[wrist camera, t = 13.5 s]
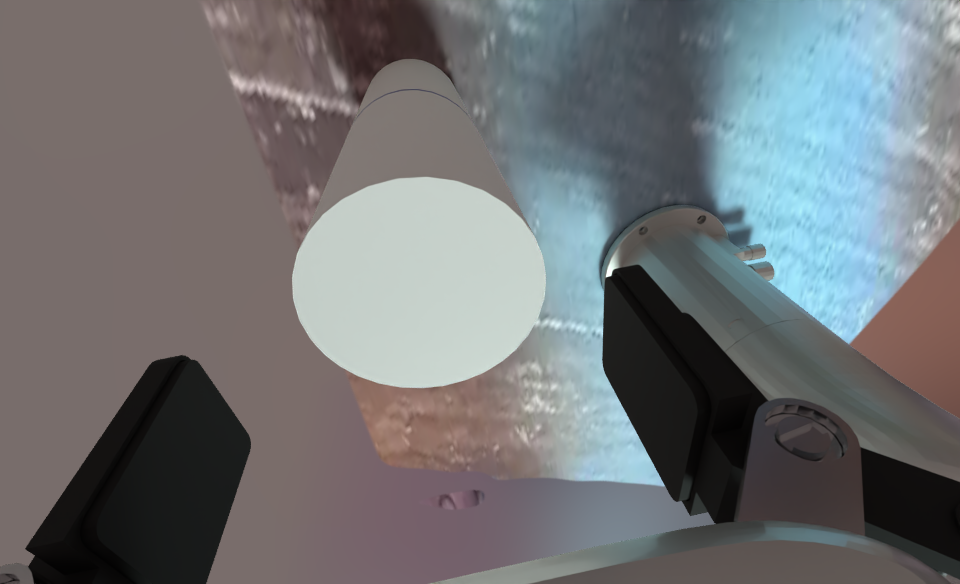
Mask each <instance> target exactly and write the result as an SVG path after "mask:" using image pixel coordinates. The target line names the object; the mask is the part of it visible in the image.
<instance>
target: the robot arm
mask: <svg viewBox="0 0 960 584" xmlns="http://www.w3.org/2000/svg"><path fill="white" fill-rule="evenodd" d="M765 255H766V249H765V247H764V246H763V244H755V245H750V246H746V247H743V248H739V247H737V246H735V245H734V244H733V243H731V242H730V241H729V236H728V233H727V231H726V229H725V227H724V225H723V224H722V223H721V221H720V220H719V219H718V218H717V217H715V216H714V215H712V214H711V213H710V212H708V211H706V210H704V209H702V208H700V207H696V206H691V205H673V206H668V207H663V208H660V209H658V210H655V211H652V212H650V213H648V214H646V215H644V216H642V217H641V218H639V219H637V220H636V221H635V222H633V223H632V224H631V225H630V226H628V227H627V228H626V229H625V230H624V231H623V232H622V233H621V234H620V235H619V236H618V237H617V239H616V240H615V242H614V243H613V244H612V246H611V247H610V249H609V251H608V253H607V255H606V257H605V260H604V264H603V267H602V276H601V281H602V287H603V290H604V322H603V358H602V361H603V368H604V371H605V374H606V376H607V378H608V380H609V382H610V384H611V386H612V387H613V389H614V391H615V393H616V395H617V397H618V399H619V401H620V402H621V404H622V406H623V408H624V410H625V412H626V414H627V416H628V417H629V419H630V421H631V423H632V425H633V427H634V429H635V430H636V432H637V434H638V436H639V438H640V440H641V442H642V444H643V445H644V447H645V449H646V451H647V453H648V455H649V457H650V459H651V460H652V462H653V464H654V466H655V468H656V470H657V472H658V473H659V475H660V477H661V479H662V481H663V483H664V485H665V487H666V488H667V490H668V492H669V494H670V495H671V497H672V498H673V500H675V501H676V502H678V501H682V502H683V504H684V506H685V507H686V509H687V511H688V513H689V515H690V516H692V515H697V514H701V513H706V512H708V513H709V514H710V516H711V518H712V520H713V521H714V523H716V524H714V525H707V526H700V527H694V528H687V529H681V530H676V531H671V532H666V533H661V534H656V535H651V536H646V537H642V538H636V539H631V540H626V541H621V542H617V543H611V544H607V545H602V546H597V547H592V548H588V549H583V550H579V551H574V552H569V553H565V554H560V555H556V556H552V557H547V558H542V559H538V560H533V561H529V562H524V563H520V564H515V565H511V566H507V567H502V568H497V569H493V570H488V571H483V572H479V573H474V574H471V575H465V576H461V577H456V578H452V579H448V580H443V581H439V582H434V583H430V584H960V419H959V418H957V417H956V416H954V415H952V414H950V413H949V412H947V411H945V410H944V409H942V408H940V407H939V406H937V405H936V404H934V403H932V402H931V401H929V400H928V399H926V398H925V397H923V396H922V395H920V394H918V393H917V392H915V391H914V390H912V389H911V388H909V387H908V386H906V385H905V384H903V383H901V382H900V381H898V380H897V379H895V378H894V377H893V376H891V375H890V374H888V373H887V372H885V371H884V370H883V369H881V368H880V367H879V366H877V365H876V364H874V363H873V362H872V361H871V360H869V359H868V358H866V357H865V356H864V355H862V354H861V353H860V352H858V351H857V350H855V349H854V348H852V347H851V346H850V345H849V344H848V343H846V342H845V341H844V340H842V339H841V338H840V337H839V336H837V335H836V334H835V333H833V332H832V331H831V330H830V329H828V328H827V327H826V326H824V325H823V324H822V323H820V322H819V321H818V320H817V319H815V318H814V317H813V316H811V315H810V314H809V313H808V312H806V311H805V310H804V309H803V308H801V307H800V306H799V305H797V304H796V303H795V302H794V301H792V300H791V299H790V298H789V297H787V296H786V295H785V294H783V293H782V292H781V291H780V290H778V289H777V288H776V287H775V286H773V285H772V284H771V283H770V282H768V281H770V280H772V279H773V277H774V269H773V266H772V265H771V264H770V263H769V262H767V261H765V262H760V263H755V264H749V265H747V264H745V263H744V262H743V261H746V260H749V261H750V260H755V259H760V258H763V257H765ZM250 449H251V441H250V437H249V435H248V433H247V432H246V430H245V429H244V427H243V426H242V424H241V423H240V421H239V420H238V419H237V417H236V416H235V414H234V413H233V412H232V410H231V408H230V407H229V406H228V404H227V403H226V401H225V400H224V398H223V397H222V396H221V394H220V393H219V391H218V390H217V388H216V387H215V385H214V384H213V382H212V381H211V380H210V378H209V377H208V375H207V374H206V373H205V371H204V369H203V368H202V367H201V365H200V364H199V363H198V362H197V361H195V360H191V359H190V358H189V357H186V356H183V355H180V356H175V357H170V358H166V359H160V360H156V361H154V362H152V363H151V364H150V365H149V367H148V368H147V370H146V371H145V373H144V374H143V376H142V377H141V379H140V380H139V381H138V383H137V384H136V386H135V387H134V389H133V391H132V392H131V393H130V395H129V397H128V398H127V399H126V401H125V402H124V404H123V405H122V407H121V408H120V409H119V411H118V413H117V414H116V415H115V417H114V418H113V420H112V421H111V423H110V424H109V426H108V427H107V429H106V430H105V432H104V433H103V435H102V437H101V438H100V439H99V440H98V442H97V443H96V445H95V446H94V448H93V449H92V451H91V452H90V454H89V455H88V457H87V458H86V460H85V461H84V463H83V464H82V466H81V467H80V469H79V470H78V471H77V473H76V475H75V476H74V477H73V479H72V480H71V482H70V483H69V485H68V486H67V488H66V489H65V491H64V492H63V494H62V495H61V497H60V498H59V499H58V501H57V502H56V504H55V506H54V507H53V508H52V510H51V511H50V513H49V514H48V516H47V517H46V519H45V520H44V522H43V523H42V525H41V526H40V528H39V529H38V530H37V532H36V534H35V535H34V536H33V538H32V539H31V541H30V542H29V544H28V545H27V547H26V548H25V549H26V550H27V551H29V552H30V553H32V554H33V555H35V557H34V558H33V560H32V562H31V563H30V565H29V566H26V565H23V564H19V563H15V564H8V565H3V566H1V567H0V584H206V582H207V579H208V576H209V573H210V570H211V567H212V564H213V561H214V558H215V555H216V552H217V549H218V546H219V543H220V540H221V537H222V534H223V531H224V528H225V525H226V522H227V519H228V516H229V513H230V510H231V507H232V504H233V501H234V498H235V495H236V492H237V488H238V486H239V483H240V480H241V477H242V474H243V470H244V467H245V465H246V461H247V458H248V455H249V452H250Z"/></svg>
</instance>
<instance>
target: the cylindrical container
mask: <svg viewBox="0 0 960 584" xmlns="http://www.w3.org/2000/svg"><path fill="white" fill-rule="evenodd" d="M292 283H293V300H294V304H295V307H296V310H297V314H298V317H299V320H300V322H301V323H302V325H303V327H304V329H305V331H306V332H307V334H308V336H309V337H310V339H311V340H312V341H313V342H314V344H315V345H316V346H317V347H318V348H319V349H320V350H321V351H322V352H323V353H324V354H325V355H326V356H327V357H329V358H330V359H331V360H332V361H334V362H335V363H336V364H338V365H339V366H340V367H342V368H344V369H346V370H348V371H349V372H351V373H353V374H355V375H357V376H359V377H362V378H365V379H368V380H371V381H374V382H376V383H380V384H386V385H391V386H396V387H408V388H427V387H436V386H445V385H449V384H453V383H456V382H460V381H464V380H467V379H469V378H472V377H474V376H476V375H479V374H481V373H483V372H485V371H487V370H489V369H490V368H492V367H494V366H495V365H497V364H499V363H500V362H502V361H503V360H504V359H505V358H506V357H508V356H509V355H510V354H511V353H512V352H514V351H515V350H516V349H517V348H518V346H519V345H520V344H521V343H522V342H523V341H524V339H525V338H526V337H527V336H528V334H529V333H530V331H531V329H532V327H533V326H534V324H535V322H536V321H537V319H538V317H539V313H540V310H541V307H542V304H543V301H544V298H545V285H546V273H545V267H544V261H543V256H542V253H541V251H540V248H539V246H538V244H537V241H536V239H535V236H534V235H533V233H532V231H531V229H530V227H529V225H528V223H527V221H526V220H525V218H524V216H523V214H522V212H521V210H520V208H519V206H518V205H517V203H516V201H515V199H514V197H513V195H512V193H511V191H510V190H509V188H508V186H507V184H506V182H505V180H504V178H503V176H502V175H501V173H500V171H499V169H498V167H497V165H496V163H495V161H494V160H493V158H492V156H491V154H490V152H489V150H488V148H487V146H486V145H485V143H484V141H483V139H482V137H481V135H480V133H479V131H478V130H477V128H476V126H475V124H474V122H473V120H472V118H471V116H470V115H469V113H468V111H467V109H466V107H465V105H464V103H463V101H462V100H461V98H460V96H459V94H458V92H457V90H456V88H455V87H454V85H453V83H452V82H451V80H450V79H449V77H448V76H447V75H446V74H445V73H444V72H443V71H442V70H440V69H439V68H437V67H436V66H434V65H433V64H430V63H428V62H426V61H423V60H418V59H402V60H398V61H394V62H392V63H390V64H388V65H386V66H385V67H383V68H382V69H381V70H380V71H379V72H378V73H377V74H376V75H375V77H374V78H373V79H372V81H371V83H370V85H369V87H368V89H367V91H366V94H365V96H364V98H363V101H362V103H361V105H360V108H359V110H358V112H357V115H356V117H355V119H354V122H353V124H352V126H351V129H350V131H349V133H348V136H347V138H346V140H345V143H344V145H343V147H342V150H341V152H340V154H339V157H338V159H337V161H336V164H335V166H334V169H333V171H332V173H331V176H330V178H329V180H328V183H327V185H326V187H325V190H324V192H323V194H322V197H321V199H320V201H319V204H318V206H317V208H316V211H315V213H314V215H313V218H312V220H311V223H310V225H309V227H308V230H307V232H306V234H305V237H304V239H303V241H302V244H301V246H300V248H299V251H298V253H297V257H296V262H295V266H294V270H293V275H292Z"/></svg>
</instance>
